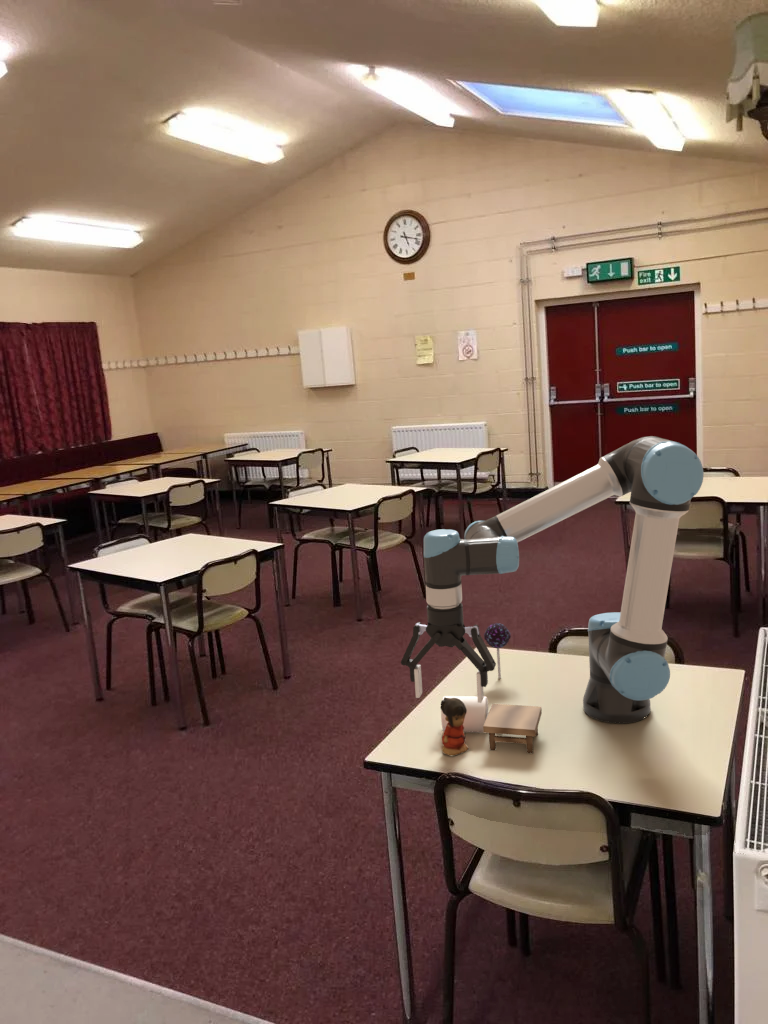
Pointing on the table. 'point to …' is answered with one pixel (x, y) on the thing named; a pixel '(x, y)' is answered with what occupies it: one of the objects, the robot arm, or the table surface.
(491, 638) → the lollipop
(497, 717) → the tan legged square part
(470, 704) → the mug
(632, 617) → the robot arm
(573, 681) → the table surface
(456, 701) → the figurine
